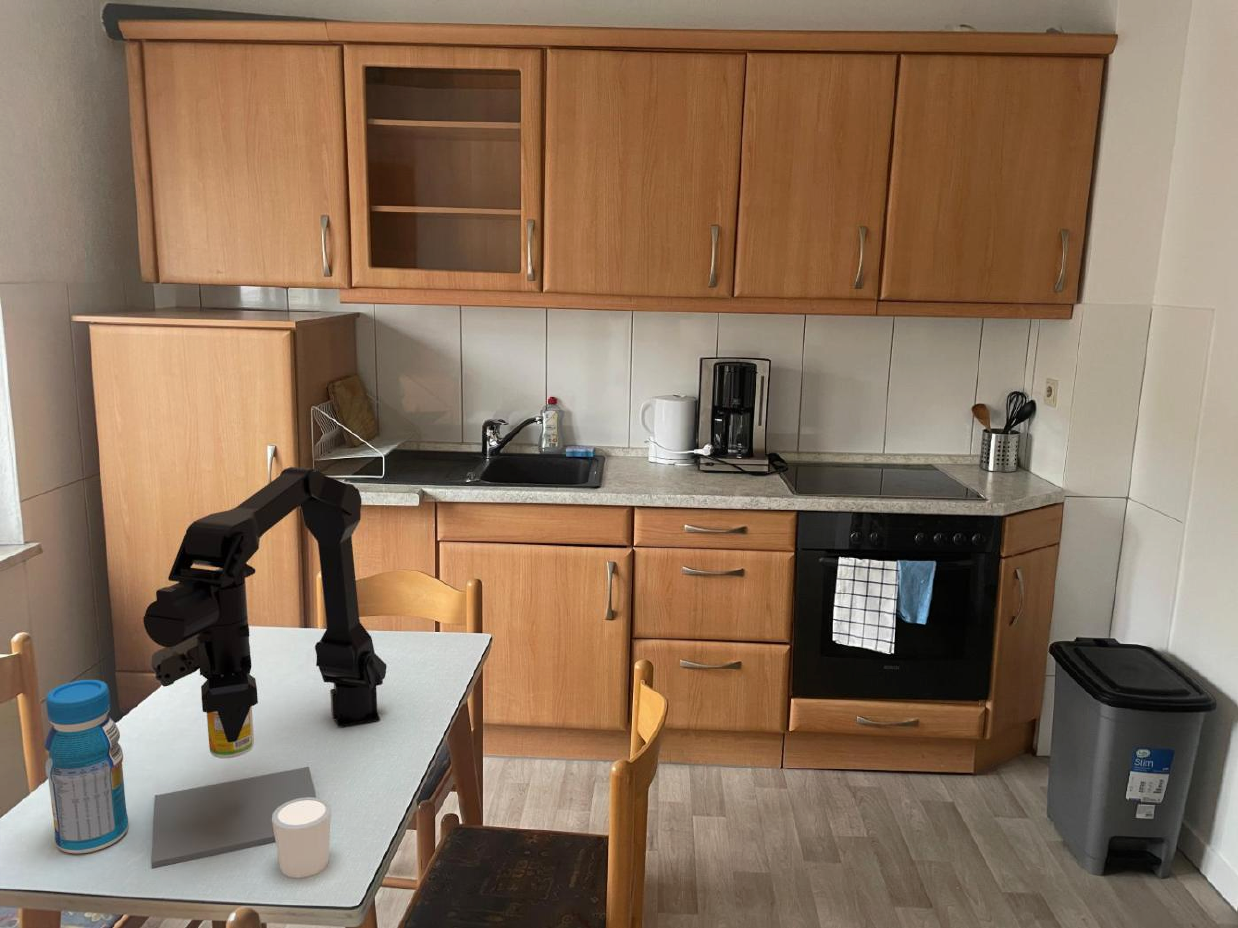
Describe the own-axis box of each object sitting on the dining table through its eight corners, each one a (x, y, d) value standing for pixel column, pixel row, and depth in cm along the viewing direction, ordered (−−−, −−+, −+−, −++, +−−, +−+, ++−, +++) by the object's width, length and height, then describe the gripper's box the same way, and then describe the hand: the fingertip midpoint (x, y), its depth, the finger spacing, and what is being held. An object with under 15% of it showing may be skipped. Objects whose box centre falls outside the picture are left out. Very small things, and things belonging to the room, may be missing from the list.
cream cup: (279, 887, 112) (276, 833, 111) (271, 855, 118) (267, 804, 117) (339, 871, 115) (336, 818, 114) (328, 840, 121) (325, 791, 120)
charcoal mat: (309, 771, 138) (308, 766, 138) (323, 831, 123) (323, 825, 123) (155, 800, 130) (154, 795, 130) (151, 868, 115) (151, 862, 115)
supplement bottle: (217, 739, 127) (212, 671, 125) (259, 738, 128) (255, 670, 126) (203, 760, 122) (198, 689, 120) (247, 759, 122) (242, 688, 120)
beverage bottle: (78, 864, 116) (61, 711, 112) (40, 841, 120) (23, 694, 116) (144, 830, 123) (130, 686, 119) (106, 810, 127) (92, 670, 123)
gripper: (154, 601, 126) (164, 711, 129) (150, 654, 109) (161, 778, 113) (245, 591, 131) (252, 697, 134) (254, 640, 114) (261, 760, 117)
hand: (231, 731), depth 124 cm, fingers closed on supplement bottle, 5 cm apart
